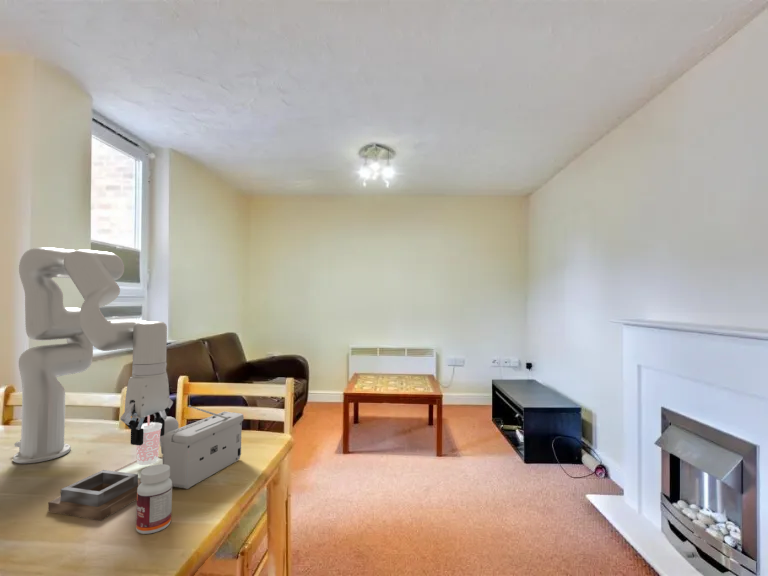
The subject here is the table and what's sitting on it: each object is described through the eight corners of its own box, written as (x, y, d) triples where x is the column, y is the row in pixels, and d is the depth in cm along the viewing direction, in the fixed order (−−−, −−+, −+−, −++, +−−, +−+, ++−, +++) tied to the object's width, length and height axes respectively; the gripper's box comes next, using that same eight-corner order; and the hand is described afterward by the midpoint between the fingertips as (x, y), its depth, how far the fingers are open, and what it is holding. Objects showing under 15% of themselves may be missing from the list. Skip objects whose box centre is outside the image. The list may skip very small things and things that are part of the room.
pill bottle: (131, 526, 79) (132, 469, 80) (164, 514, 84) (165, 460, 84) (142, 539, 75) (144, 479, 76) (176, 525, 80) (177, 468, 80)
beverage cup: (132, 468, 98) (133, 410, 98) (134, 459, 103) (136, 404, 103) (160, 463, 100) (162, 407, 101) (161, 454, 106) (162, 402, 106)
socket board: (48, 511, 85) (48, 490, 85) (146, 462, 110) (147, 446, 110) (101, 520, 82) (101, 498, 82) (190, 468, 107) (190, 451, 107)
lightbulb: (167, 459, 112) (168, 420, 112) (149, 458, 113) (149, 419, 114) (182, 451, 118) (183, 414, 118) (164, 450, 119) (165, 413, 120)
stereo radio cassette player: (222, 455, 116) (223, 386, 116) (245, 459, 113) (246, 388, 113) (160, 487, 96) (161, 404, 97) (186, 493, 93) (188, 407, 94)
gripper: (163, 363, 112) (161, 427, 111) (107, 375, 95) (105, 451, 94) (185, 364, 110) (184, 430, 109) (133, 376, 93) (131, 454, 93)
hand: (148, 439), depth 102 cm, fingers closed on beverage cup, 6 cm apart
